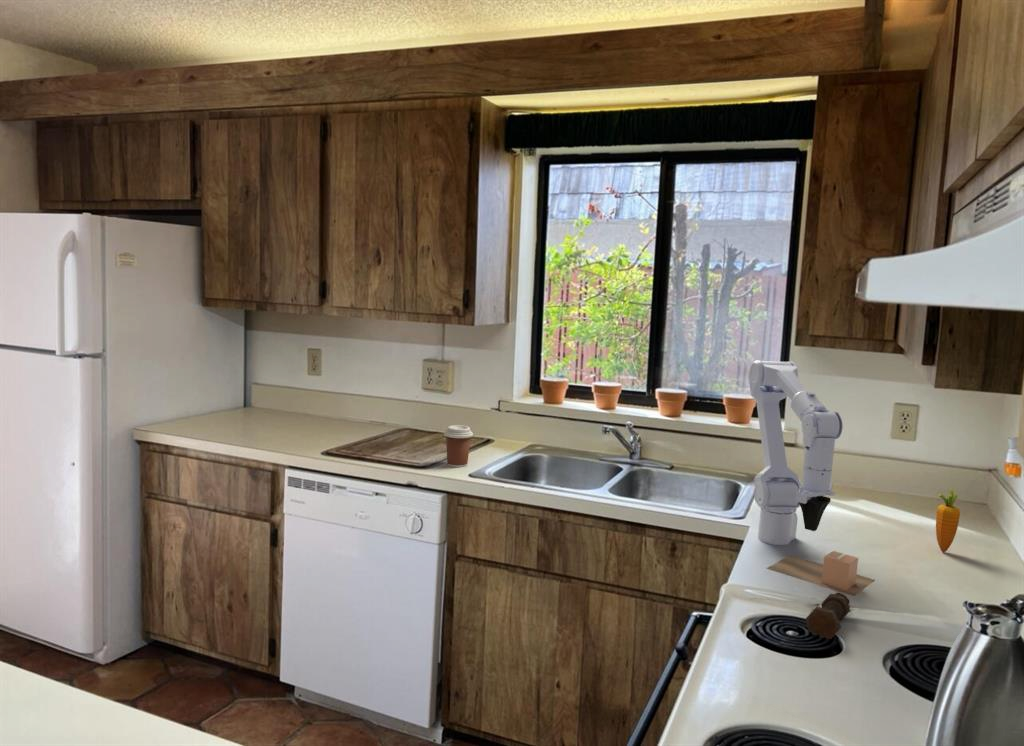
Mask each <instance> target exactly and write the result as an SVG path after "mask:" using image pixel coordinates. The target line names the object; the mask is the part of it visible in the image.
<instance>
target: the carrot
mask: <svg viewBox="0 0 1024 746" xmlns="http://www.w3.org/2000/svg"><path fill="white" fill-rule="evenodd" d="M938 496H939V497H940V498H941V499H943V501H944V503H945V504H940V505H938V508H937V509H936V510H937V511H936V517H935V533H936V541H937V544H938V547H939V549H940V551H941V552H942V553H943V552H944V553H946V552H947V551H948V549H949V548H950V547H951V545H952V544H953V542H954V539H955V537H956V534H957V531H958V528H959V522H960V517H961V510H960V508H958V507H956V506H954V503H955V502H956V500H957V498H958V495H957V494H956V493H954V491H953V490H952V489H949V490H948V497H946V496H945V495H944V494H942V493H940V494H938Z"/></svg>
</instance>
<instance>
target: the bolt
mask: <svg viewBox="0 0 1024 746" xmlns="http://www.w3.org/2000/svg"><path fill="white" fill-rule="evenodd" d="M850 602H851V601H850V600H849V598H848V596H846V595H845V594H843V593H840V592H835V593H829V594H828V596H826V598H825V599H824V600H823V601H822V602H821V604H820V606H818V605H817V606H815V607H814V609H813V610H812V611H811V612H810V613H809V614H808V616H807V617H806V618H805V623H806V626H807V628H808V629H807V630H808V631H809V632H811V633H814V634H816V635H819V636H822V637H825V638H828V639H830V640H832V639H833V637H835V635H836V634H837V633H838V632H839V630H840V629H842V626H841V623H840V622H841V621H842V620H843V619H844V618H845V617H846V616H847V615H849V613H850V612H851V607H850ZM811 633H810V634H811ZM828 639H827V640H828Z"/></svg>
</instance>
